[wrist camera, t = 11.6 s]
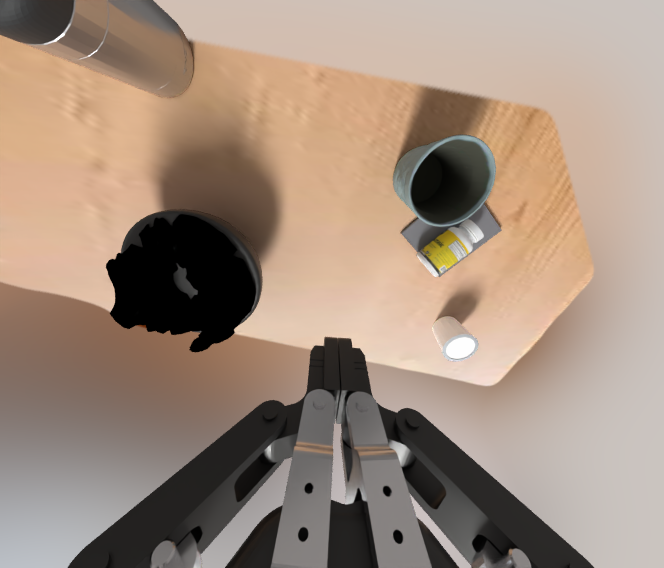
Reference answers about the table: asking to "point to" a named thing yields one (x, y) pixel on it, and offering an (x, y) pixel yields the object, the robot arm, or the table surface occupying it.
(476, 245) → the mat
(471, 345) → the shot glass
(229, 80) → the table surface
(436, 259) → the supplement bottle
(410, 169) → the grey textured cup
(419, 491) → the robot arm
